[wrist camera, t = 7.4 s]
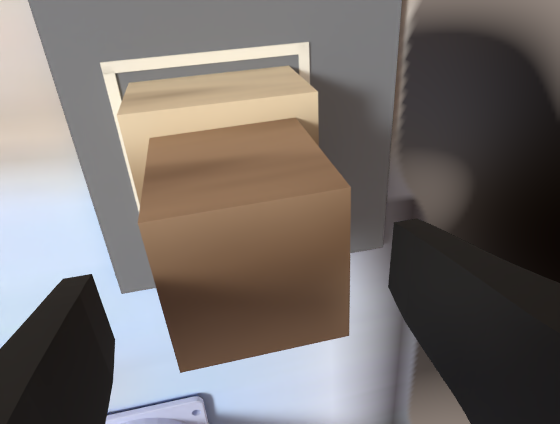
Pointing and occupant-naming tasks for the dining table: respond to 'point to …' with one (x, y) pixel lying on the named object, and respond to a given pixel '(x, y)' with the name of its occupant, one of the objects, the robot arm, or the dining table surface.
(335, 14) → the mat
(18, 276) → the dining table surface
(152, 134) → the oak block
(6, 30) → the dining table surface
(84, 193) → the dining table surface
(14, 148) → the dining table surface
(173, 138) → the walnut block
